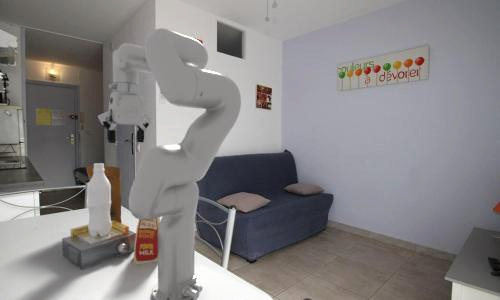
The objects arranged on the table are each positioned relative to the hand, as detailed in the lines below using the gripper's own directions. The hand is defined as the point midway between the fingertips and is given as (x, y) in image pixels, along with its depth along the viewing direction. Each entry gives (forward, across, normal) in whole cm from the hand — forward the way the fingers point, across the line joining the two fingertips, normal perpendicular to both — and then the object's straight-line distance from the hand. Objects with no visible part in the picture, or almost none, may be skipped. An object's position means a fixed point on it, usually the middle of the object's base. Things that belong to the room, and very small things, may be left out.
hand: (126, 142), depth 87 cm
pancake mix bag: (+40, +8, +31) cm, 51 cm away
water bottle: (+33, -4, +11) cm, 35 cm away
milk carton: (+40, +5, -5) cm, 40 cm away
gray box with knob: (+39, -4, +9) cm, 41 cm away
